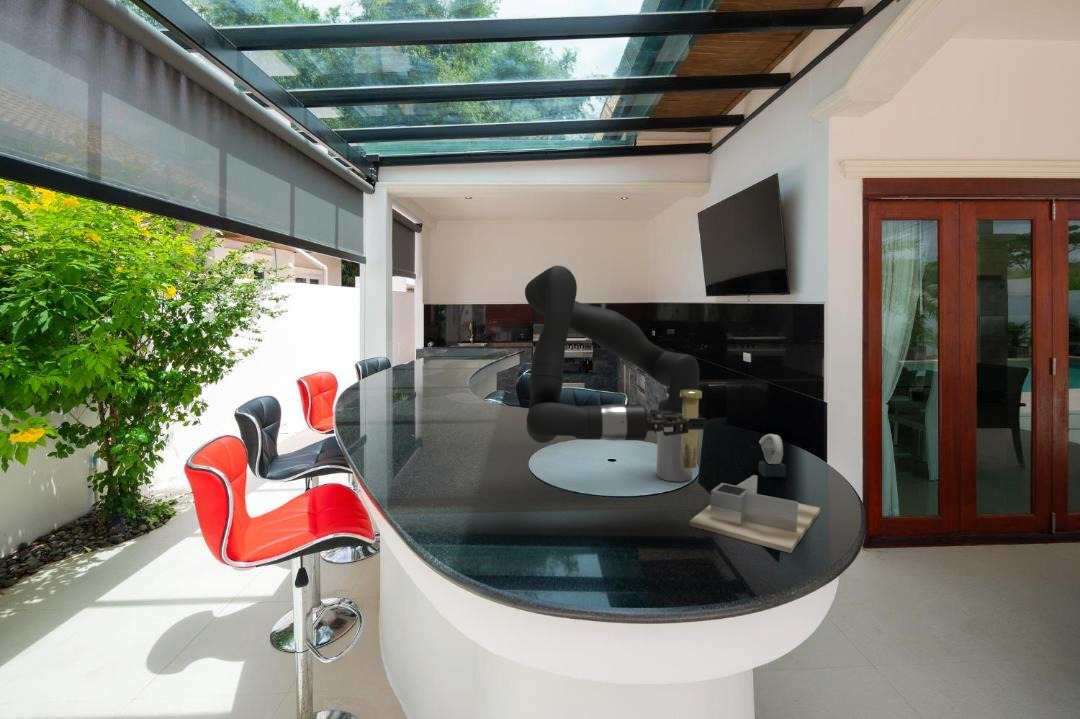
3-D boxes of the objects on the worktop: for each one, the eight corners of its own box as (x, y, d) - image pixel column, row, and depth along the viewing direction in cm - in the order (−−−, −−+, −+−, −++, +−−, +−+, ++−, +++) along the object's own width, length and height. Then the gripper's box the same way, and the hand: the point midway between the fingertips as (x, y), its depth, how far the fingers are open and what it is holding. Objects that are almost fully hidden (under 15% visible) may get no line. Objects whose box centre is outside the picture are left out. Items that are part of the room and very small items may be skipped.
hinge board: (730, 492, 133) (730, 488, 133) (820, 512, 121) (820, 507, 120) (689, 525, 114) (689, 521, 113) (790, 553, 101) (790, 548, 101)
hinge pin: (683, 461, 117) (685, 388, 115) (702, 465, 114) (705, 390, 113) (674, 466, 114) (676, 391, 112) (694, 470, 111) (696, 393, 109)
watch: (775, 469, 150) (777, 431, 149) (788, 479, 142) (790, 438, 141) (755, 469, 151) (757, 431, 149) (767, 479, 143) (768, 438, 141)
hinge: (735, 496, 128) (736, 471, 127) (810, 512, 118) (812, 486, 117) (709, 517, 115) (710, 490, 114) (791, 538, 105) (792, 509, 104)
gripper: (628, 411, 105) (716, 411, 106) (616, 398, 119) (694, 397, 120) (627, 449, 106) (714, 448, 107) (616, 431, 120) (693, 430, 121)
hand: (703, 421), depth 113 cm, fingers closed on hinge pin, 3 cm apart
